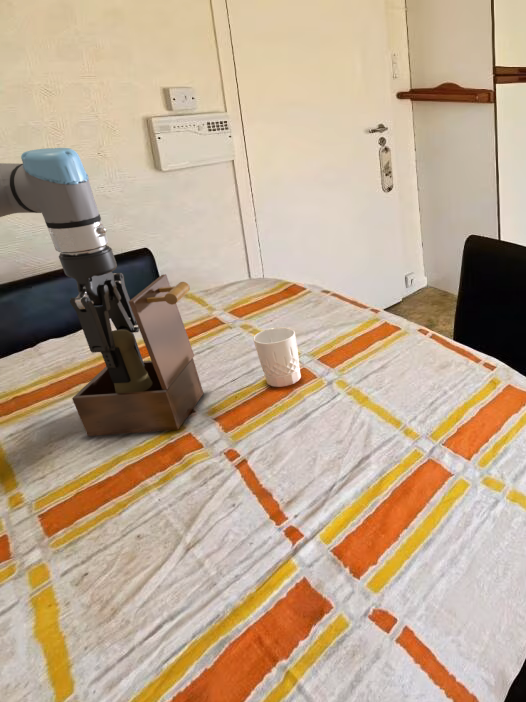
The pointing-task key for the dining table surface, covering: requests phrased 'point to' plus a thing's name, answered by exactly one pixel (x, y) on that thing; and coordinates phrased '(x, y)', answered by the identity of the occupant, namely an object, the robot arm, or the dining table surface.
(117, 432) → the chest
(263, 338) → the white cup
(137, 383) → the cork
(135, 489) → the dining table surface
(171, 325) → the lid
